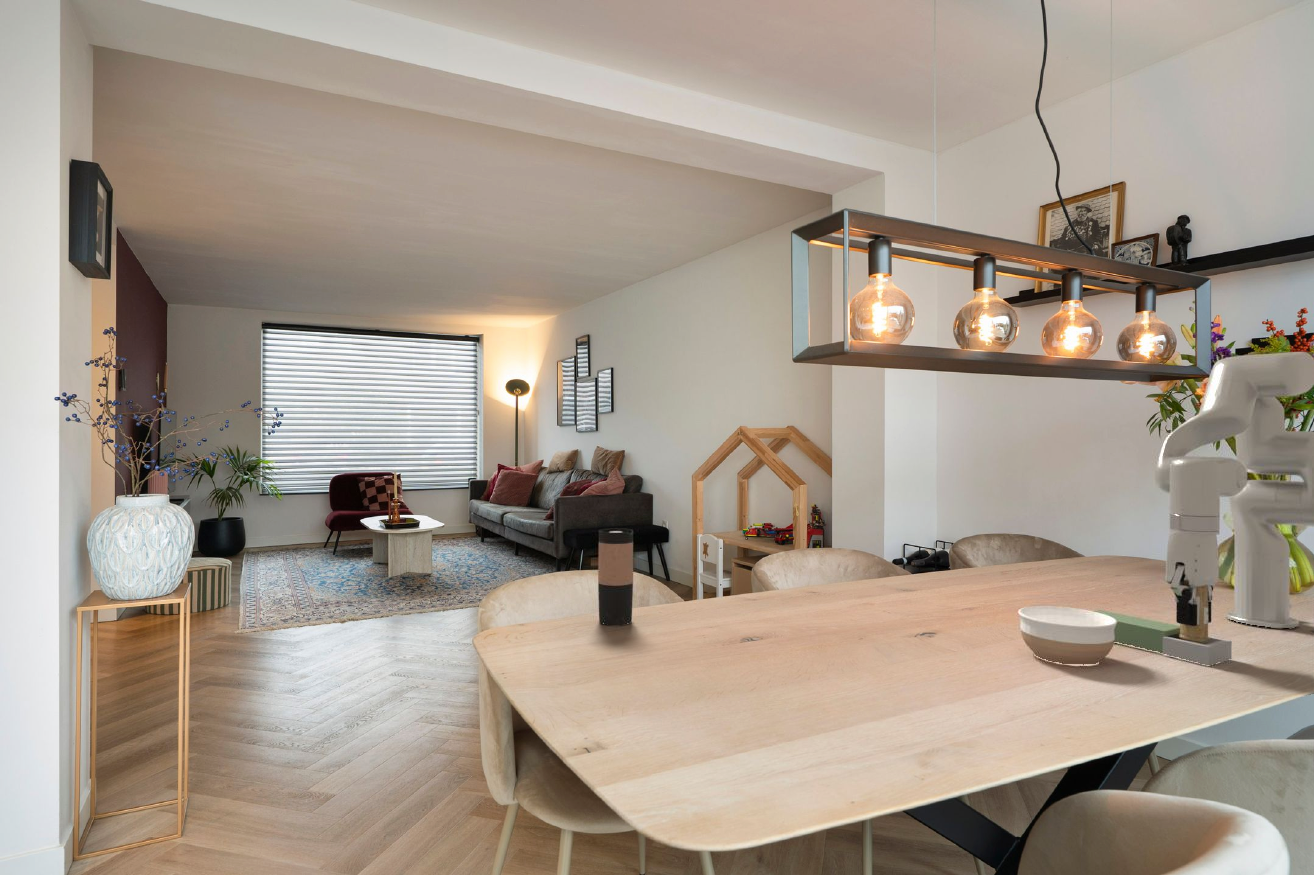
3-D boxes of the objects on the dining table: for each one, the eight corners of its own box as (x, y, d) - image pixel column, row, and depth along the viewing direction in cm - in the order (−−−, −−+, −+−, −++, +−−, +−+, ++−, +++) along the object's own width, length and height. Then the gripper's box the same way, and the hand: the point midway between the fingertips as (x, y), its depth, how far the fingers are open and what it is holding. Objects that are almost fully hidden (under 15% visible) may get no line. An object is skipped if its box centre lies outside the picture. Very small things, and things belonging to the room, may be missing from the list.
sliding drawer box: (1101, 630, 156) (1101, 609, 156) (1231, 659, 136) (1231, 635, 136) (1077, 635, 152) (1078, 614, 152) (1208, 666, 132) (1208, 641, 132)
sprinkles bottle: (1215, 642, 136) (1215, 569, 136) (1193, 643, 135) (1193, 569, 135) (1193, 636, 140) (1194, 565, 140) (1172, 636, 140) (1172, 565, 140)
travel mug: (592, 619, 164) (593, 529, 164) (624, 616, 167) (625, 527, 167) (605, 627, 157) (605, 533, 157) (638, 624, 160) (638, 531, 160)
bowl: (1132, 674, 127) (1132, 628, 127) (1032, 668, 130) (1032, 623, 131) (1097, 649, 143) (1097, 608, 143) (1008, 644, 146) (1008, 603, 146)
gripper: (1194, 520, 145) (1194, 613, 145) (1148, 524, 137) (1147, 623, 137) (1239, 524, 139) (1239, 622, 139) (1193, 529, 130) (1193, 633, 130)
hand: (1193, 621), depth 138 cm, fingers closed on sprinkles bottle, 4 cm apart
